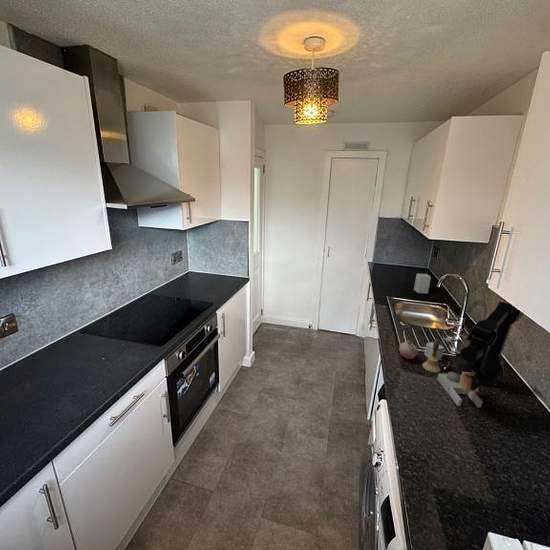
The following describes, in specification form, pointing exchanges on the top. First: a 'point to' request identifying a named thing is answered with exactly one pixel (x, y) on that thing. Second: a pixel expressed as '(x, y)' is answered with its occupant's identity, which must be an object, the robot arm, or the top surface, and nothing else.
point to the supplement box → (422, 283)
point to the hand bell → (432, 359)
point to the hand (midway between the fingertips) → (468, 385)
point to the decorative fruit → (408, 350)
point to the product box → (430, 350)
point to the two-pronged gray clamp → (456, 388)
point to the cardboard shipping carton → (467, 381)
